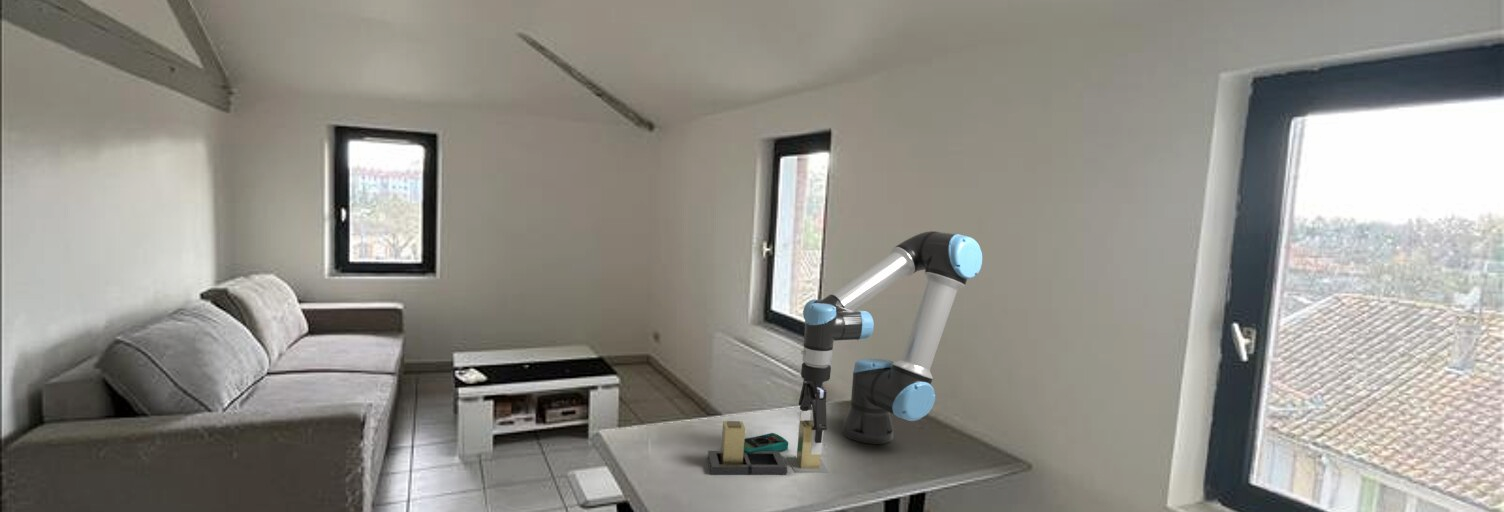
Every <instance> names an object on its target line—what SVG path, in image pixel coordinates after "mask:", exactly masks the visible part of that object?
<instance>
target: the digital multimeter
mask: <svg viewBox="0 0 1504 512" xmlns="http://www.w3.org/2000/svg"><path fill="white" fill-rule="evenodd" d="M788 449H789V441H787V440H786V439H785V438H784V437H782V436H781V435H779V434H777V433H776V432H775V433H774V432H770V433H765V434H762V435H761V434H760V435H756V436H752V437H747V438H746V437H745V439H744V451H746V452H753V451H779V452H783V451H787V450H788Z"/></svg>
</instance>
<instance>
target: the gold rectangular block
mask: <svg viewBox="0 0 1504 512" xmlns="http://www.w3.org/2000/svg"><path fill="white" fill-rule="evenodd" d="M721 431H722V432H721V443H720V446H721V447H720V451H721V457H720V464H721V465H743V452H744V439H746V427H745V425H744V423H743V421H740V420H739V421H738V420H726V421H725V420H722V430H721Z"/></svg>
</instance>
